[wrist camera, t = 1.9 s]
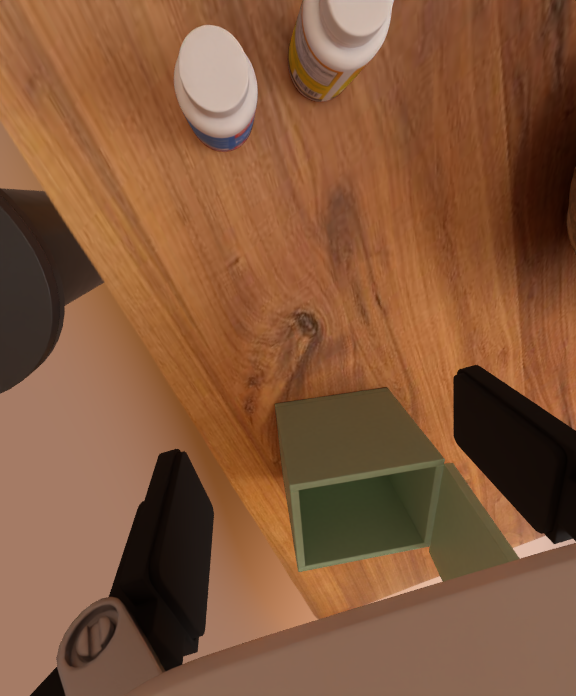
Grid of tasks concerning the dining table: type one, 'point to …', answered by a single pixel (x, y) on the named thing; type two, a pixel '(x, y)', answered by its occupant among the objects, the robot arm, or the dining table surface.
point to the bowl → (572, 213)
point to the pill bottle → (216, 87)
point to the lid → (464, 531)
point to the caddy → (356, 477)
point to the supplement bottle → (335, 43)
